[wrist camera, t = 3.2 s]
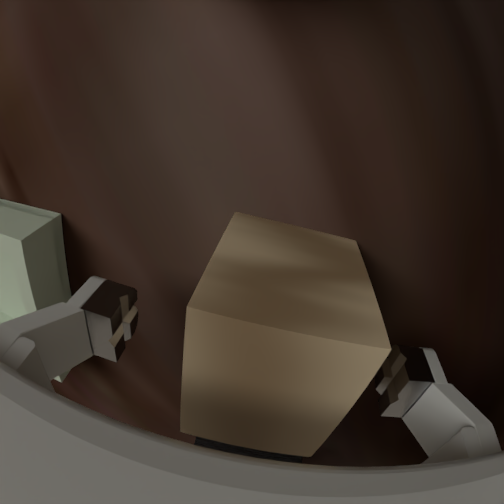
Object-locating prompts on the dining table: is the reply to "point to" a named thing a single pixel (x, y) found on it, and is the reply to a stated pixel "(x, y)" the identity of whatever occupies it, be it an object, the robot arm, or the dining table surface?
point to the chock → (279, 338)
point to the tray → (31, 261)
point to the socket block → (246, 451)
